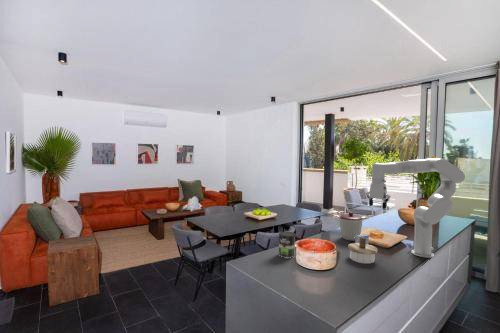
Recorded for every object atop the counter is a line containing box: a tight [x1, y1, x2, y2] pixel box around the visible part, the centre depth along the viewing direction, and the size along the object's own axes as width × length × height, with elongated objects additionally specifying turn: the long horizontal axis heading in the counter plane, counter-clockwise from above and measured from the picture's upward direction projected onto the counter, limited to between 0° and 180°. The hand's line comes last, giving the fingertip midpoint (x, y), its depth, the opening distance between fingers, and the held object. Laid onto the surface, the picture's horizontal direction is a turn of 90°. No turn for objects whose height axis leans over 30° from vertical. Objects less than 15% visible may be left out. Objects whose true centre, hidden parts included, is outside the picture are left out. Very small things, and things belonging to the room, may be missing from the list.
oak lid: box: [347, 237, 378, 255], centre depth 163 cm, size 17×17×7 cm
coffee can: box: [278, 231, 296, 259], centre depth 167 cm, size 10×10×14 cm
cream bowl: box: [349, 250, 376, 264], centre depth 163 cm, size 14×14×6 cm
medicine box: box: [354, 234, 370, 245], centre depth 184 cm, size 8×4×9 cm, turn 105°
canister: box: [338, 211, 364, 242], centre depth 203 cm, size 18×18×21 cm
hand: (377, 206), depth 175 cm, fingers open, 9 cm apart
